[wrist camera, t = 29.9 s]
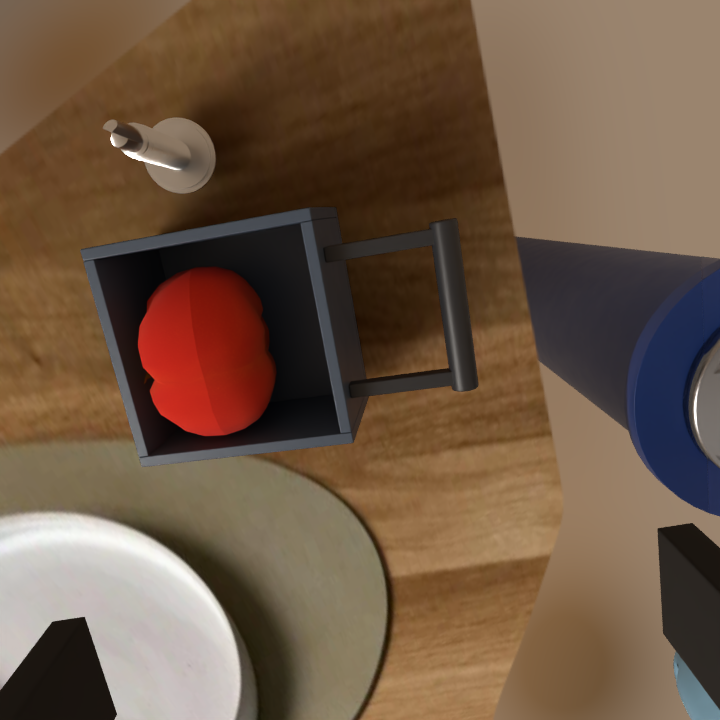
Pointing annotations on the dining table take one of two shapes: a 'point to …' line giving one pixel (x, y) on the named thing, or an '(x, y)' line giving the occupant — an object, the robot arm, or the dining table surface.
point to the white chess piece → (169, 151)
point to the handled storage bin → (276, 326)
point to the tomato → (207, 351)
